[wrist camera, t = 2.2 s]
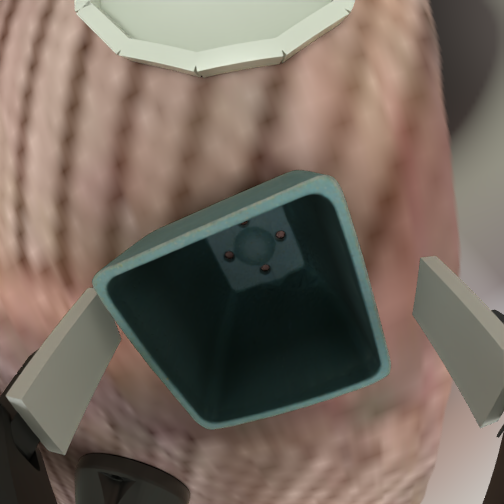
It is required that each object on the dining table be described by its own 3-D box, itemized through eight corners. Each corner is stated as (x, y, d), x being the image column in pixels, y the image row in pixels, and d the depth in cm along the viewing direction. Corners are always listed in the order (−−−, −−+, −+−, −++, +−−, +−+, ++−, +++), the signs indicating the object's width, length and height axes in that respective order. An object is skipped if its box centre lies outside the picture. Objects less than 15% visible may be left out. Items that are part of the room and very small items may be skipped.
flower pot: (219, 326, 21) (204, 434, 13) (154, 209, 18) (84, 279, 10) (345, 278, 20) (394, 376, 12) (295, 145, 17) (335, 168, 9)
